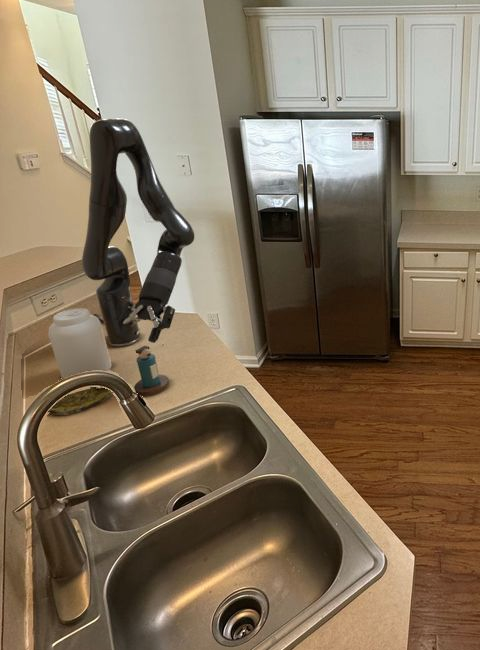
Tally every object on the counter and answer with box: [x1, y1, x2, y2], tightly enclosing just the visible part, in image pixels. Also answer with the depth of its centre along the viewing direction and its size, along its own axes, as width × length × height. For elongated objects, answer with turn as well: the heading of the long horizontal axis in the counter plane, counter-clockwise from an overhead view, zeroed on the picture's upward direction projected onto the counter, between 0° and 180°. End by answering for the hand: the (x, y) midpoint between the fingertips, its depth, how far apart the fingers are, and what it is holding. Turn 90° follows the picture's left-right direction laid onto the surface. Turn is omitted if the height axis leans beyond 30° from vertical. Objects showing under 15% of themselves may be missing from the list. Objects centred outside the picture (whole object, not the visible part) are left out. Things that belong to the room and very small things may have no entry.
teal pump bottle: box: [135, 345, 160, 387], centre depth 122 cm, size 5×4×11 cm
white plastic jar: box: [47, 307, 112, 379], centre depth 127 cm, size 12×12×20 cm
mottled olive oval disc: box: [47, 386, 114, 416], centre depth 117 cm, size 9×5×15 cm
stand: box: [133, 374, 170, 397], centre depth 124 cm, size 9×9×2 cm
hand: (137, 340), depth 118 cm, fingers open, 8 cm apart
